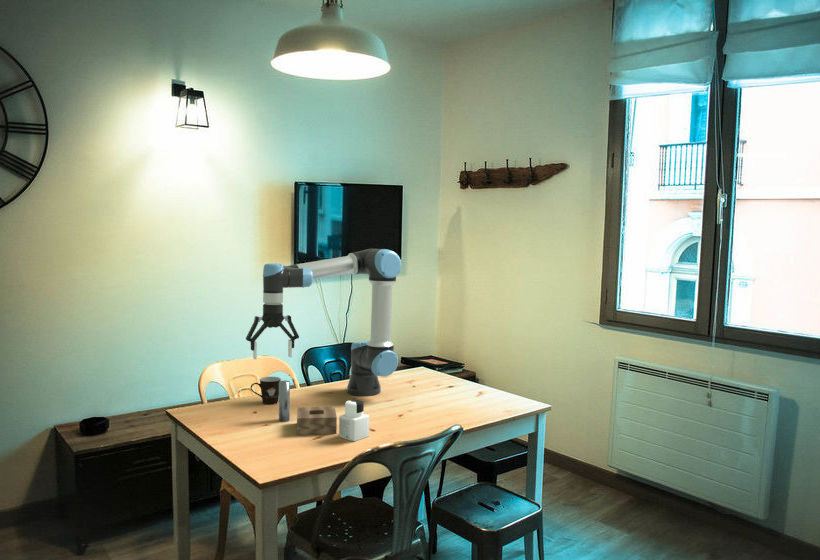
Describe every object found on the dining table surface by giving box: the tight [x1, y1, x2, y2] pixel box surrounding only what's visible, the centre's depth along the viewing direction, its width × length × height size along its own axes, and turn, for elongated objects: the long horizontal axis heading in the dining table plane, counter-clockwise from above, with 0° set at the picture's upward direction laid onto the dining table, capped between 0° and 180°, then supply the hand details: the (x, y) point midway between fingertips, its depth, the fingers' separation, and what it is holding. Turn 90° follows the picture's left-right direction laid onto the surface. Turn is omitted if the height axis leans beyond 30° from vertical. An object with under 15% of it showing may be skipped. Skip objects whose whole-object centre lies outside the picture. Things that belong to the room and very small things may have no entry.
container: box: [338, 398, 370, 442], centre depth 226 cm, size 8×8×13 cm
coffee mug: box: [250, 376, 282, 406], centre depth 267 cm, size 12×9×10 cm
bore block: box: [296, 405, 338, 436], centre depth 234 cm, size 14×14×6 cm
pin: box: [278, 380, 291, 423], centre depth 243 cm, size 4×4×15 cm
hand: (272, 357), depth 248 cm, fingers open, 13 cm apart
